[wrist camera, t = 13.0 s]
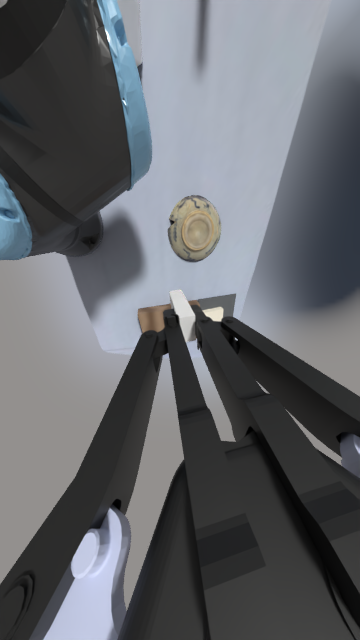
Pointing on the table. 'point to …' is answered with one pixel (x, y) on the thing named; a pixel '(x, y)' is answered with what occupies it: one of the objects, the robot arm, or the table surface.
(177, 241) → the decorative bowl
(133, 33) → the jar
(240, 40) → the table surface
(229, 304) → the mat
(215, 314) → the tile
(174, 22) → the table surface
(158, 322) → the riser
